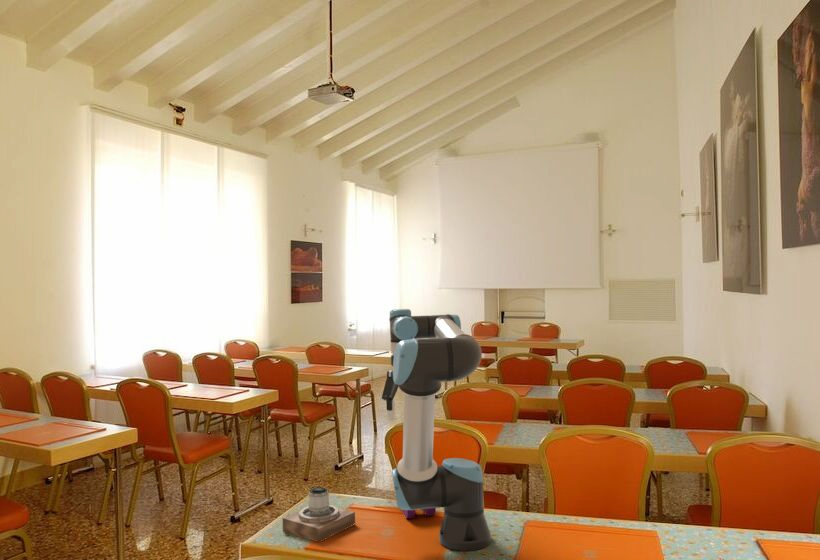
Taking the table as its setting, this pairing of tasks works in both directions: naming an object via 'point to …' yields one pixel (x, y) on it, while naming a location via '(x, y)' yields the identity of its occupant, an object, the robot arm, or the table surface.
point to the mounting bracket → (412, 512)
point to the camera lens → (318, 502)
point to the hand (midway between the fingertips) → (403, 416)
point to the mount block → (318, 523)
